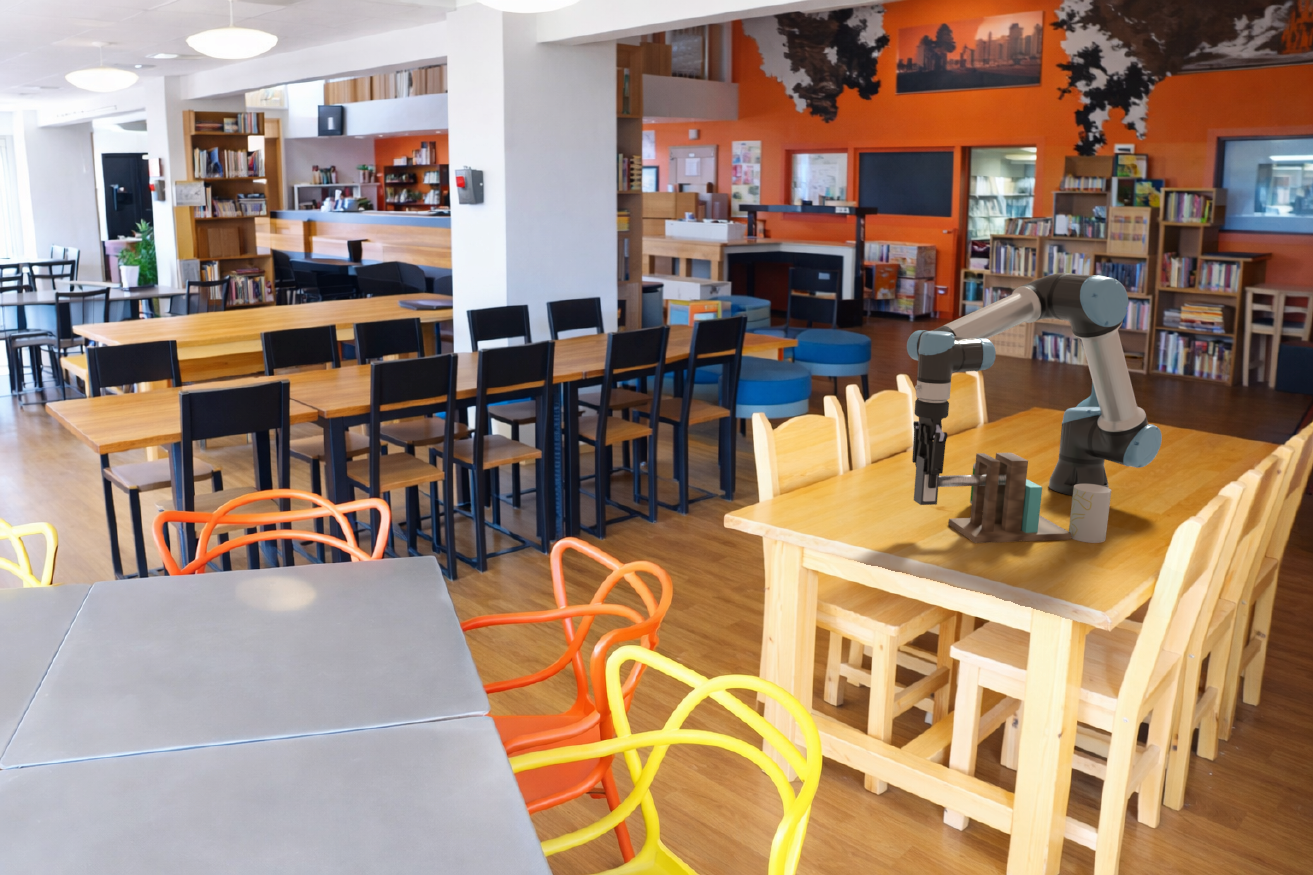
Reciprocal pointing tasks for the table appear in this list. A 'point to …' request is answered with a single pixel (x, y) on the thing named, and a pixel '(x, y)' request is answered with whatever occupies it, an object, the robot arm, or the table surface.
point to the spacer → (1031, 507)
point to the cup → (1089, 513)
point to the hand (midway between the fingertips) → (924, 497)
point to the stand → (1002, 504)
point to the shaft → (945, 481)
